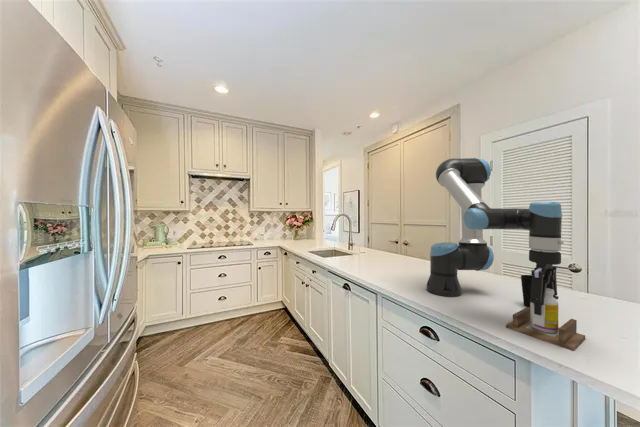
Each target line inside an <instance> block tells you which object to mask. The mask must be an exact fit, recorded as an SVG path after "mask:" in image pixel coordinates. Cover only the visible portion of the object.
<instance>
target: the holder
mask: <svg viewBox="0 0 640 427" xmlns="http://www.w3.org/2000/svg"><path fill="white" fill-rule="evenodd" d="M505 328H507V329H508V330H513V331H515V332H518V333H521V334H525V335H527V336H530V337H533V338H536V339H537V340H542V341H544V342H547V343H551V344H553V345H555V344H556V346H558V345H559V347H561V346H562V348H564V347H565V349H567V348H568V349H567V350H570V351H574V352H575V350H576V349H577V348H578V347H579V346H580V345H581V344H582V343H583V342H584V341H585V340H586V335H585V334H583V333H582V334H581V333H578V332H577V319H575V318H569V320H568V321H566V322H565V323H563V325H561V326H559V327H558V332H557V333H547V332H542V331H539V330H537V329H535V328H533V327H532V326H531V325H530V307H526V306H525V308H522V309H521V310H519V311H517V312H515V313H513V314H512V320H511V321H509V322H508V323H506V324H505Z"/></svg>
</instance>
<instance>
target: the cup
mask: <svg viewBox="0 0 640 427" xmlns="http://www.w3.org/2000/svg"><path fill="white" fill-rule="evenodd" d="M520 280H521V290H522V291H521V292H522V299H523V301H522V302H523V306H524V307H525V308H526V307H530V302H529V300H530V294H531V281H532V274H523V275H522V274H521V275H520Z"/></svg>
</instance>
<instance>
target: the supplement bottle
mask: <svg viewBox="0 0 640 427" xmlns="http://www.w3.org/2000/svg"><path fill="white" fill-rule="evenodd" d="M553 295H554V290H553V289H550V288H546V292H545V298H544V305H545V326H544V327H543V326H540V325H537V324H534V323H533V303H531V302H530V325H531V326H532V327H533V328H535V329H537V330H539V331H542V332H547V333H557V332H558V328H559V301H558V299H555V298H553ZM537 300H538V299H537Z"/></svg>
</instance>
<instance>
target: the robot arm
mask: <svg viewBox="0 0 640 427" xmlns="http://www.w3.org/2000/svg"><path fill="white" fill-rule="evenodd" d="M491 171H492V170H491V166H490V164H489V162H488V161H487V160H486V159H484V158H477V157H473V158H471V157H470V158H469V157H468V158H466V157H465V158H464V157H463V158H449V159H446V160H444V161H442V162H441V163H440V164H439V165H438V166H437V168H436V171H435V179H436V180H437V183H438V184H439V186H441V187H442V188H445V189H446V190H447V192H448V193H449V194H450V195H451V197H452V198H453V199H454V200H455V202H456V203H457V204H458V206H459V208H460V210H461V212H460V213H461V239H460V240H458V243H457V242H452V241H451V242H436V243H434V244H432V245H431V247H430V251H429V252H430V253H429V256H430V262H429V263H430V274H429V277H428V279H427V283H426V286H425V287H426V288H425V289H426V291H427V292H429V293H430V294H433V295H437V296H442V297H452V298H453V297H459V296H461V295H462V287H461V284H460V281H459V278H458V271H477V272H478V271H486V270H488V269H490V268H491V266H492V265H493V263H494V259H495V258H494V257H495V254H494V251H493V249H492V247H490V246H488V242H487V241H486V240H485V239H484V233H483V230H521V231H522V230H523V231H528V232H529V233H528V249H529V251H528V260H529V261H530V262H531V263H535V264H536V265H535V267H534V269H531V272H530V273H531V275H532V281H531V294H530V300H529V302H531V303H533V323H534V324H537V325H540V326H543V327H544V326H545V305H544V298H545V292H546V288H550V289H553V290H554V295H553V298H555V299H557V300H559V296H558V283H557V282H558V281H557V269H558V268H557V266H556V265H560V264H562V253H561V250H562V245H563V244H564V241H563V240H562V221H563V220H562V219H563V218H562V217H563V213H562V205H561V203H560V202H558V201H534V202H533V201H532V202H530V203H529V206H528V208H525V207H524V208H523V207H521V208H518V207H517V208H516V207H514V208H513V207H511V208H492V207H490V206H489V205H488V204H487V203H485V201H484V200H483V199H482V189H483V188H484V186H485V185H486V182H488V181H489V180H490V177H491V174H492V172H491ZM537 299H538V300H537Z"/></svg>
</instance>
